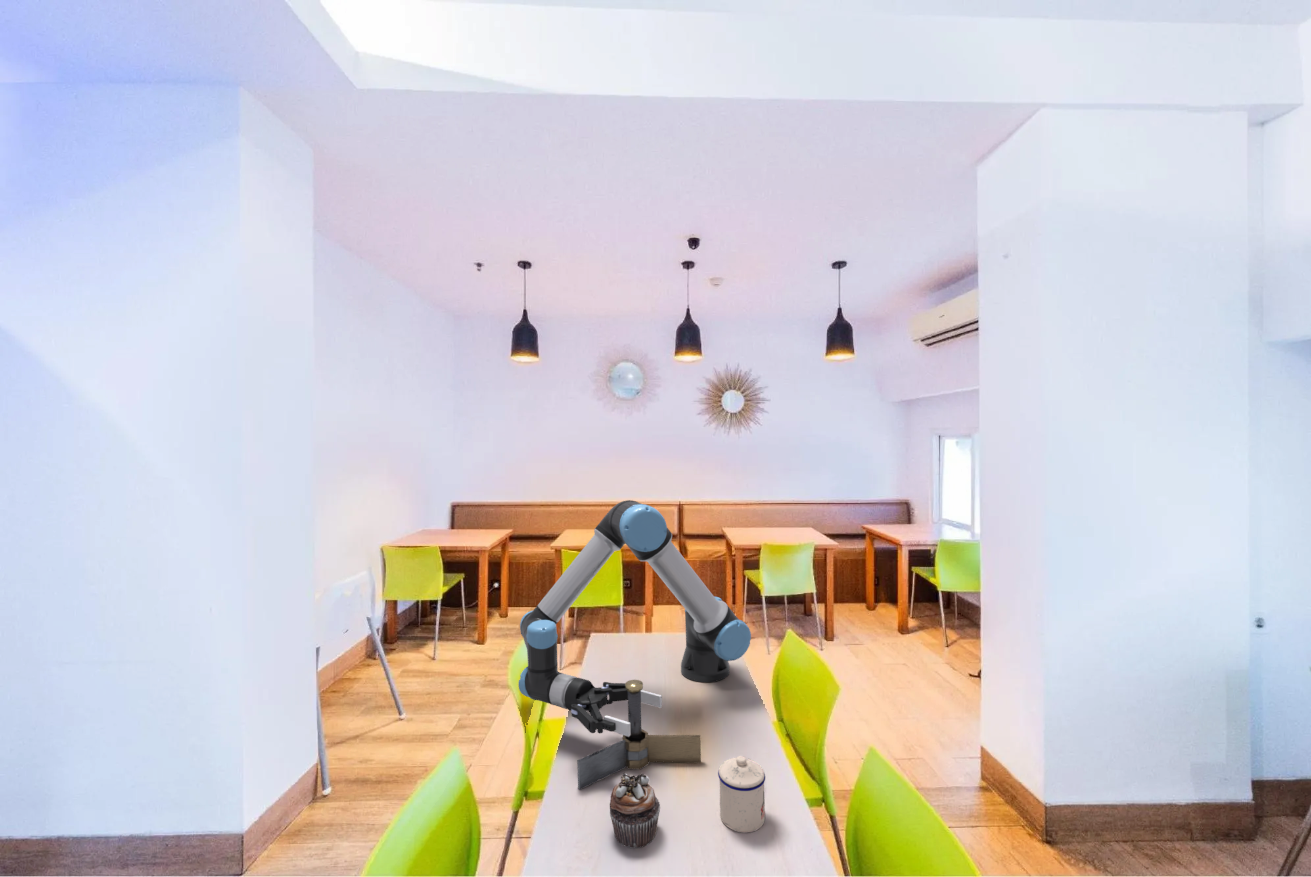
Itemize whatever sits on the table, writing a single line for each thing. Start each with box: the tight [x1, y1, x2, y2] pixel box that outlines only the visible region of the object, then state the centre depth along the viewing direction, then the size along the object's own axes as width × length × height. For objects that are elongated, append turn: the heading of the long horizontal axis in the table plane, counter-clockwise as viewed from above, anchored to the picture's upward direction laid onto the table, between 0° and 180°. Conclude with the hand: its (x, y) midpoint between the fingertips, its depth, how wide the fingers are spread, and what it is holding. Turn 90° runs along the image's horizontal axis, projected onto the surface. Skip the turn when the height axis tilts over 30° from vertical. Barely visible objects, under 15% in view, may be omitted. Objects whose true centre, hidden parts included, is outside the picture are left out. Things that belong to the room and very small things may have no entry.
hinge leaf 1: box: [576, 739, 648, 790], centre depth 119 cm, size 18×6×6 cm, turn 127°
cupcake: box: [609, 771, 661, 849], centre depth 101 cm, size 10×10×10 cm
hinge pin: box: [625, 679, 644, 742], centre depth 123 cm, size 4×4×18 cm
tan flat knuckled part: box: [621, 729, 702, 770], centre depth 123 cm, size 18×6×6 cm, turn 87°
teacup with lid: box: [717, 755, 766, 833], centre depth 106 cm, size 12×9×12 cm
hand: (646, 715), depth 121 cm, fingers open, 13 cm apart
